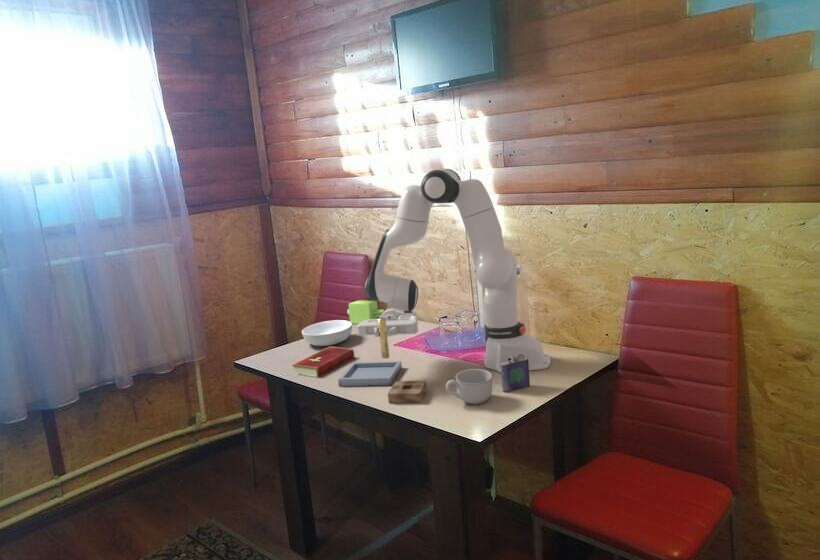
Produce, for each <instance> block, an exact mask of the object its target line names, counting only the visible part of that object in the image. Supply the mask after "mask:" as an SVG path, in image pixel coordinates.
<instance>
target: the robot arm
mask: <svg viewBox="0 0 820 560" xmlns="http://www.w3.org/2000/svg"><path fill="white" fill-rule="evenodd" d="M451 203H453V204H454V205H456V207H457V209H458V211H459V214H460V218H461V220H462V223H463V226H464V229H465V231H466V234H467V238H468V239H469V243H470V249H471V254H472V257H473V258H472V259H473V263H474V267H475V276H476V279H477V281H478V283H479V284H480V285H481V286H482V287H484V292H483V294H484V295H483V312H484V313H483V314H484V325H483V326H484V327H483V332H484V339H485V342H486V343H485V356H484V362H483V366H484V367H486V368H487V369H491V370H493V371H496V372H498V373H501V363H504V362H507V361H510V360H511V358H512V357H511V355H513V354H514V355H515V357H516V358H520V357H522V358H524V357H525V358H527V359H528V363H529V372H530V371H536V370H537V371H539V370H540V371H541V370H545V369H548V368H549V367H550V366H551V364H552V361H551V360H552V359H551V356H550V354H548V353H546V352H545V351H544V348H543V346H542V343H541V342H540V340H538V339H536V338H535V337H533V336H531V335H530V334H528V333H526V331H527V330H526V326H525V323H524V322H523V321H522V322H520V321H519V316H518V315H519V314H518V313H519V312H518V303H517V302H518V301H517V298H518V297H517V294H518V262H517V260H518V259H517V257H516V255H515V253H514V252H513V251H512V250H510V249H508V248H507V247H505V244H504V238H503V231H502V227H501V224H500V221H499V219H498V215H497V213H496V209H495V207H494V204H493V200H491V197H490V195H489V192H488V191H487V189H486V187H485V185H484V184H483V183H482V181H480V180H478V179H475V178H472V179H467V180H462V179H461V177H460V176H459V174H458V173H457V172H456V171H455V170H453V169H450V168H437V169H434V170H431V171H429V172H427V173H426V174H425V175H424V176H423V178H422V180H421V183H420V185H417V184H414V185H413V184H412V185H408V186H406V187H404V188H403V191H402V192H401V195H400V199H399V201H398V206H397V210H396V211H397V212H396V214H395V215H396V216H395V220H394V223H393V225H392V226H391V227H390V228H388V229H386V230H385V231H384V233H383V234H382V237H381V239H380V243H379V244H378V248H377V251H376V253H375V257H374V259H373V263H372V267H371V269H370V271H369V274H368V277H367V279H366V281H365V285H364V294H365V295H366V297H367V298H368V299H369V301H377V302H380V303H381V302H383V303H386V304H387V303H388V304H390V305H389V306H388V307H386V309H385V310H384V312H383V314H380V316H379V318H385V320H386V329H387V331H386V336H387V337H392V336H397V335H413V334H414V335H415V334H418V332H419V323H418V315H417V312H416V311H413V310H414V309H415V308H416V306H417V302H418V298H419V287H418V285H417V283H416V282H415V280H414V279H412V278H407V277H401V276H396V275H395V276H394V275H391V274H387V273H385V272H384V270H385V268H386V266H387V262H388V259H389V255H390V252H392V250H393V249H396V248H399V247H400V248H401V247H405V246H410V245H412V244H413V245H414V244H415V243H418V242H420V241H421V240H423V238H424V237H425V236H426V233H427V229H428V226H429V219H430V215H431V214H430V213H431V209H432V207H433V205H434V204H451ZM356 330H357V331H356V333H357V334H358V335H359V336H374V337H375V338H377V337H379V338H380V334H379V326H378V319H368V320H364V321H362V322H361V323H359V324H356Z"/></svg>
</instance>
